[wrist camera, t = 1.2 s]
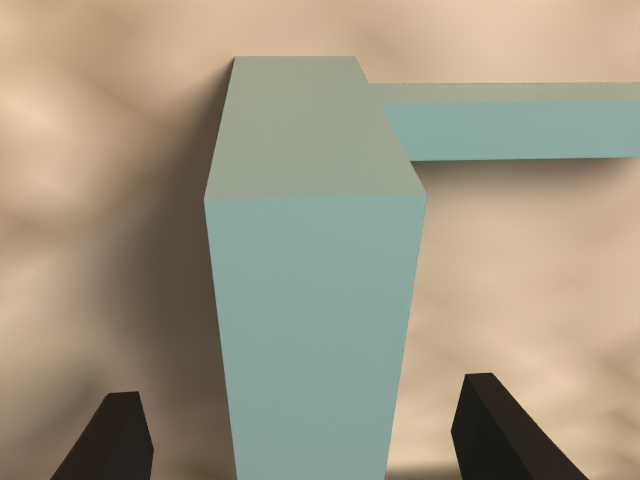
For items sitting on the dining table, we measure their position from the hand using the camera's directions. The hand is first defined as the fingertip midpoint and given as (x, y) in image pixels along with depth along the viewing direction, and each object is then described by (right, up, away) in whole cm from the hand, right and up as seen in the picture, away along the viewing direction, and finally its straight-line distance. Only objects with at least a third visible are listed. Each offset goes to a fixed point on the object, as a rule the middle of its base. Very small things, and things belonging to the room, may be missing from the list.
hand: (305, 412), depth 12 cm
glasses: (+4, +2, +3) cm, 5 cm away
